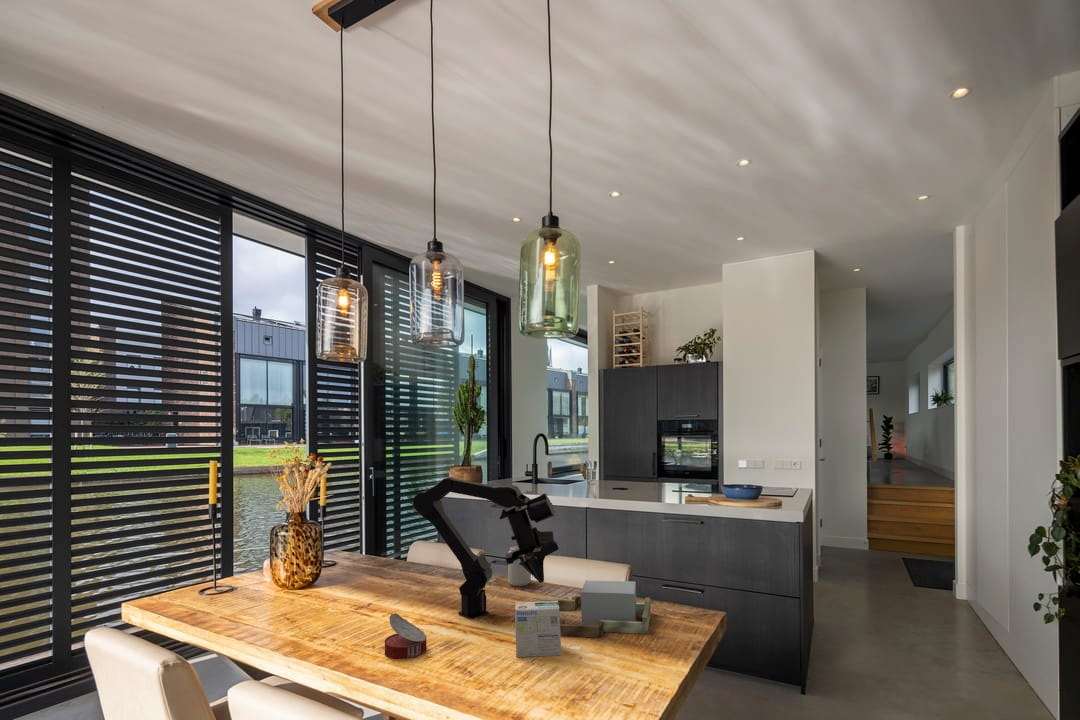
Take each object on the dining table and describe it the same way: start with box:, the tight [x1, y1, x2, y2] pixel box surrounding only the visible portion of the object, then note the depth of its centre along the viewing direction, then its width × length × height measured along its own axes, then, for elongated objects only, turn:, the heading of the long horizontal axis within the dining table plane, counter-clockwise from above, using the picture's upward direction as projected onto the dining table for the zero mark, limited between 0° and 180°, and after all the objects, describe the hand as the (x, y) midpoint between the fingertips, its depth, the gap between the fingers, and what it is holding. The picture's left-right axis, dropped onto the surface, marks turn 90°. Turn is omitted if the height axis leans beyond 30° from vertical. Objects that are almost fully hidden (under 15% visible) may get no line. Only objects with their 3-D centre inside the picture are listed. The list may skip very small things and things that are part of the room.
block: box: [580, 580, 638, 626], centre depth 165 cm, size 14×12×9 cm
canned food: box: [384, 612, 427, 660], centre depth 146 cm, size 11×10×10 cm
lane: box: [543, 595, 652, 639], centre depth 165 cm, size 30×27×4 cm
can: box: [507, 545, 532, 587], centre depth 204 cm, size 8×8×12 cm
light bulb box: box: [514, 600, 562, 658], centre depth 144 cm, size 11×7×11 cm, turn 92°
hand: (542, 582), depth 170 cm, fingers closed
